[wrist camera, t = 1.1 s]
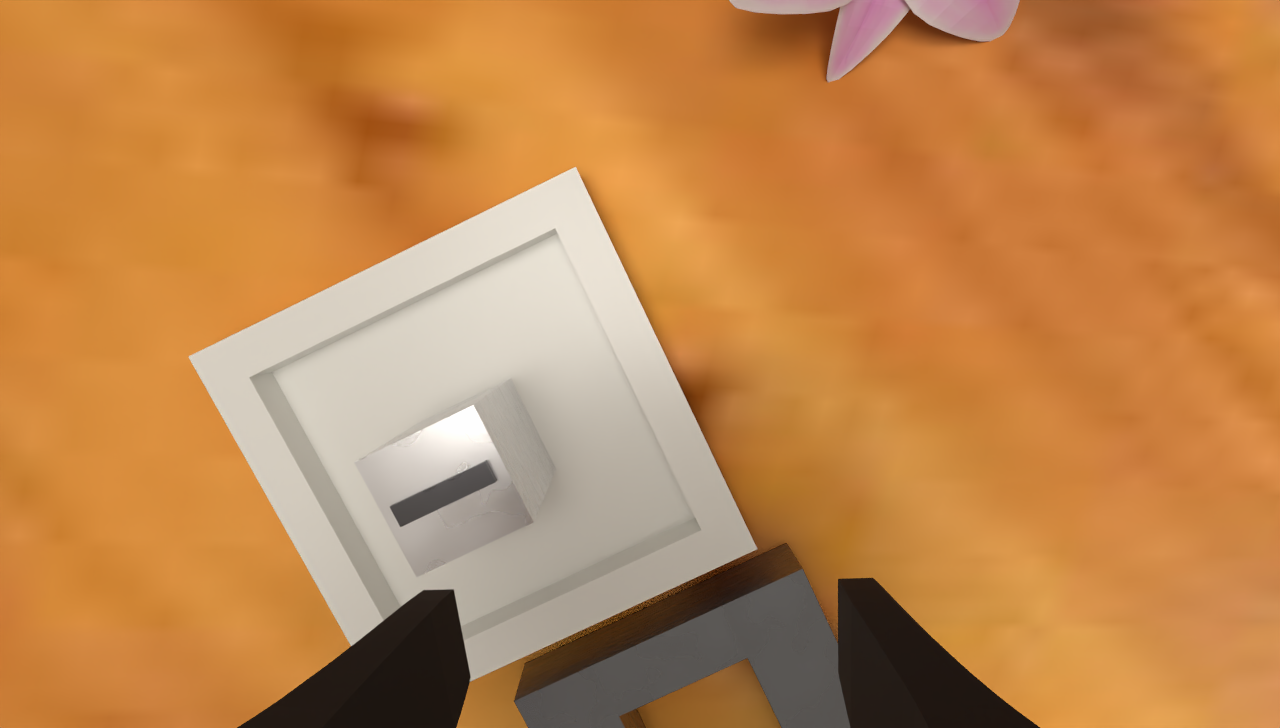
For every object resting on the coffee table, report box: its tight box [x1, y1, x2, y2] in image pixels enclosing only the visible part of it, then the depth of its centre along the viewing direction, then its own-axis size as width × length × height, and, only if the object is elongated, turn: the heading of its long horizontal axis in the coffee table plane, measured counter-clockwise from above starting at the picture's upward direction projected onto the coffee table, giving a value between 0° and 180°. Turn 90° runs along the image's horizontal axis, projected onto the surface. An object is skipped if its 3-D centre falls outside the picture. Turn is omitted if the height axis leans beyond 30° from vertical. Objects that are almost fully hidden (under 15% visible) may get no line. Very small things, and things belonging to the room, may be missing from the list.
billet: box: [354, 378, 556, 577], centre depth 22 cm, size 4×4×6 cm
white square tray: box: [189, 167, 757, 682], centre depth 25 cm, size 16×16×2 cm
